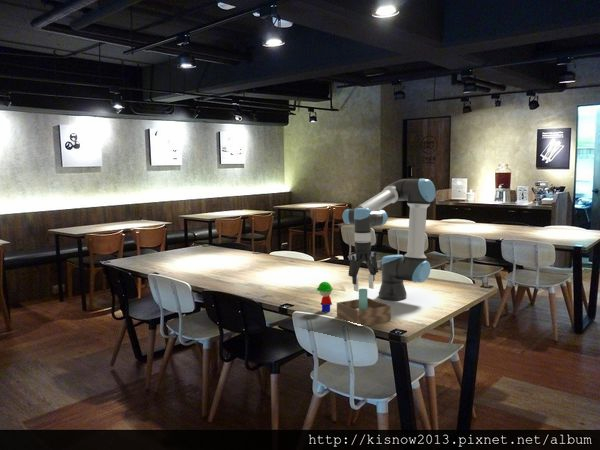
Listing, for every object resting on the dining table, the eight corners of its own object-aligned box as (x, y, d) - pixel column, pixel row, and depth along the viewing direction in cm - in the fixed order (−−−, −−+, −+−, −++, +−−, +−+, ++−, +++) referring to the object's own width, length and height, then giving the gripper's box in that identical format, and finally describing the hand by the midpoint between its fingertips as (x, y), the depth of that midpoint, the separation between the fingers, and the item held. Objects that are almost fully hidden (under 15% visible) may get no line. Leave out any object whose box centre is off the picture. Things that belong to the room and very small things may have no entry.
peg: (364, 317, 235) (364, 288, 233) (369, 319, 231) (369, 289, 230) (357, 318, 233) (357, 289, 232) (362, 320, 230) (362, 291, 228)
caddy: (367, 311, 244) (367, 297, 244) (390, 320, 228) (390, 306, 228) (336, 316, 236) (336, 302, 235) (358, 327, 220) (358, 311, 219)
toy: (314, 312, 245) (313, 282, 243) (323, 308, 251) (322, 279, 250) (327, 314, 240) (326, 284, 239) (336, 310, 246) (335, 281, 245)
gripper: (376, 238, 236) (376, 284, 239) (339, 242, 227) (340, 291, 230) (385, 240, 230) (386, 287, 232) (348, 244, 220) (349, 294, 223)
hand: (363, 289), depth 231 cm, fingers open, 8 cm apart
